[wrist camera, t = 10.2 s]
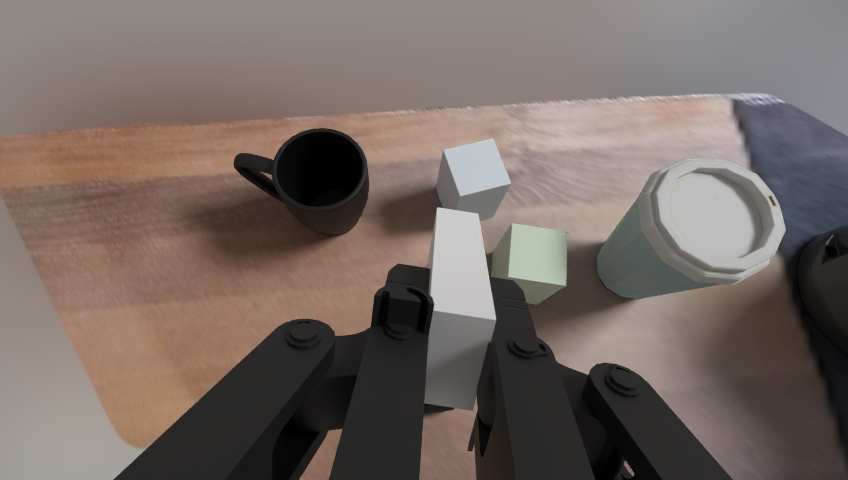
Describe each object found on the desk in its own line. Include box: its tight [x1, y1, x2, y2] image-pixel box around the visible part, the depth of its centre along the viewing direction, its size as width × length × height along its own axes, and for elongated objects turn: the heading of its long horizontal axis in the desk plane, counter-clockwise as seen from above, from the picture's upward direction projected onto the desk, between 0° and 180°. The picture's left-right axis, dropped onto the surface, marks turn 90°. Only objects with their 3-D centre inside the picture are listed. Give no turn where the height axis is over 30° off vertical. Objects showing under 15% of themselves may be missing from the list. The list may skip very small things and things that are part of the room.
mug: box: [234, 128, 369, 236], centre depth 42 cm, size 8×12×10 cm
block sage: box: [491, 223, 568, 305], centre depth 41 cm, size 5×5×8 cm
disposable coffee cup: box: [597, 158, 786, 299], centre depth 39 cm, size 11×11×15 cm
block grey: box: [436, 138, 511, 221], centre depth 44 cm, size 5×5×8 cm
